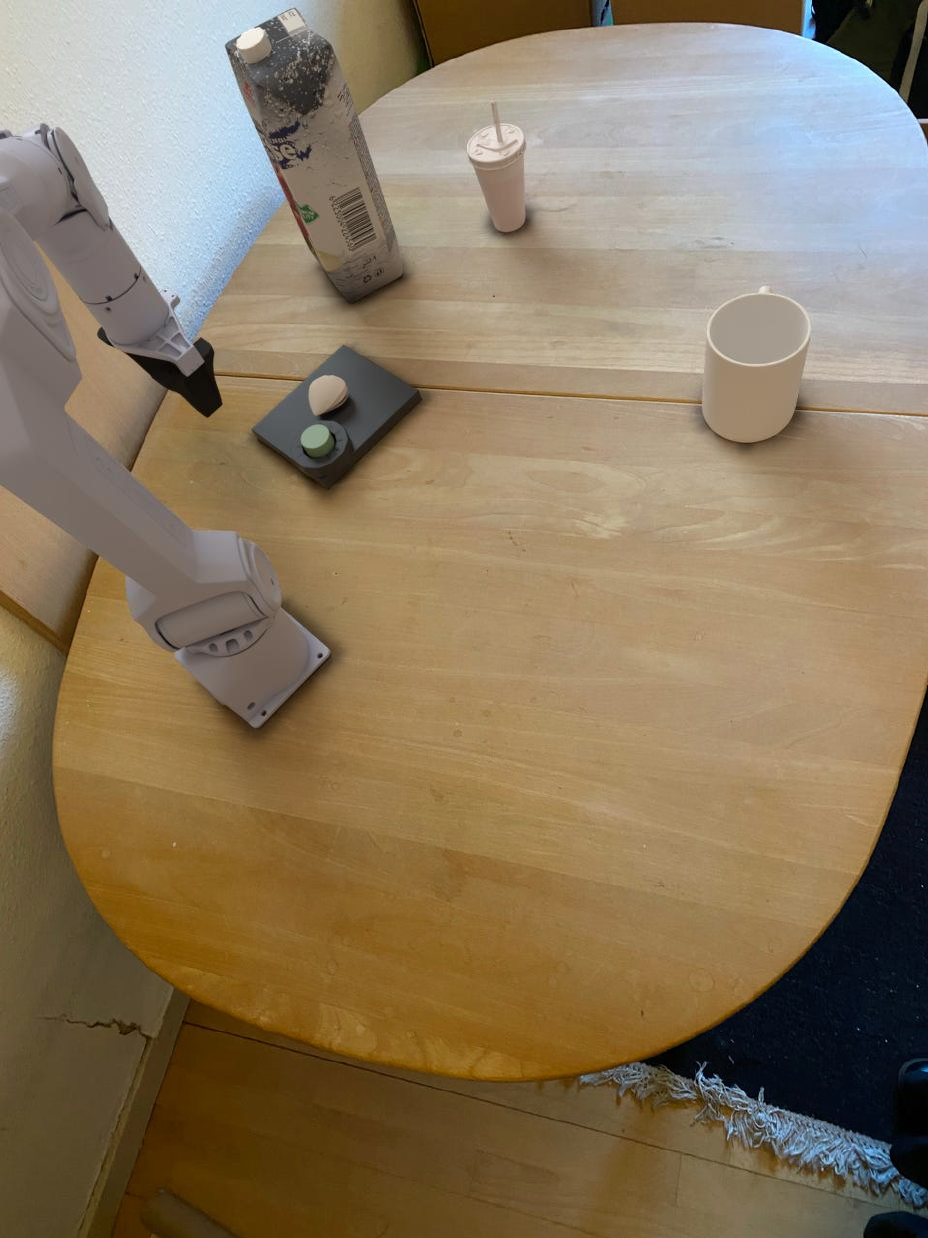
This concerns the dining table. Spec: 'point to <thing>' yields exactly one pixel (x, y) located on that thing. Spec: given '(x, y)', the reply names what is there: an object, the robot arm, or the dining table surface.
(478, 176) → the smoothie
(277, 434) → the scale
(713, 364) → the cup
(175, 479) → the dining table surface
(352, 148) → the juice carton
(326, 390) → the beige rounded teardrop
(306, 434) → the button
